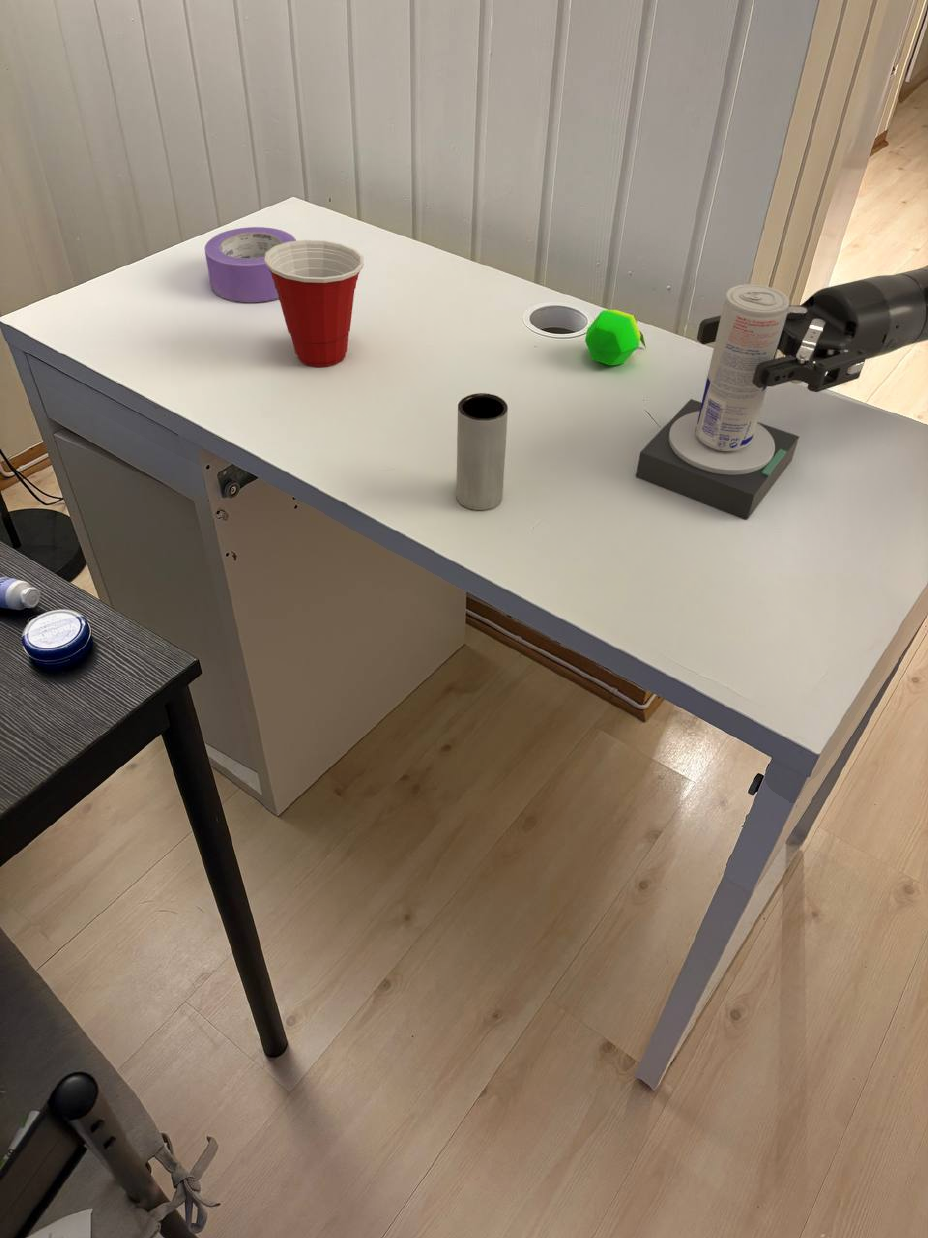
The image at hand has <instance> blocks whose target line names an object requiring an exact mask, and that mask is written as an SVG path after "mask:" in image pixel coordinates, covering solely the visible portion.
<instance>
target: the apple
mask: <svg viewBox="0 0 928 1238" xmlns="http://www.w3.org/2000/svg"><path fill="white" fill-rule="evenodd" d="M638 323H639V322H638V320H637V318H636V315H634V314H630V313H627V312H624V311H621V310H617V309H603V310H602V311H600V313H599V314H598V315H597V316H596V318H595V319H594V321H592V323H591V324H590V325H589V326H588V328H587V329H586V333H585V339H584V342H585V344H586V347H587V350H588V352H589V355H590V358H591V360H592V361H593V360H594V361H595V362H599V363H601V364H602V363H603V364H605V365H607V366H617V365H618V366H619V365H624V363H625V362H626V361H627V360H628V359H629V358H630V357H631V356H632V354H633V353H634V352H635V351H636V350H637V349H638V348H639V347H640V342H641V344H642V345H643V347H644V348H645V349H647V347H646V343H645V338H644V335H643V333H642V331H641V330H640V329H639V327H638Z"/></svg>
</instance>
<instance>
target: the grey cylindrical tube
mask: <svg viewBox="0 0 928 1238" xmlns="http://www.w3.org/2000/svg"><path fill="white" fill-rule="evenodd" d="M508 411H509V407H508V403H507V402H506V401H505V400H504V399H503V398H502V397H500V396H497V395H496V394H492V393H487V392H485V393H484V392H480V393H479V392H478V393H472V394H468V395H466V396H464V397H463V398H461V399H460V400H459V402H458V405H457V430H456V431H457V434H456V435H457V436H456V437H457V438H456V487H455V488H456V489H455V491H456V492H455V493H456V494H455V495H456V499H457V502H458V503H459V504H461V506H462V507H464V508H467V509H469V510H472V511H473V510H474V511H487V510H490V509H494V508H495V507H498V505H500V503H501V502H502V499H503V496H504V495H503V494H504V479H505V478H504V477H505V462H506V449H507V446H506V445H507V430H508V429H507V428H508V416H509V415H508Z"/></svg>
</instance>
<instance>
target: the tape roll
mask: <svg viewBox="0 0 928 1238" xmlns="http://www.w3.org/2000/svg"><path fill="white" fill-rule="evenodd" d="M291 241H297V240H296V238H295V237H294V236H293V235H292V234H290V233H289V232H287V231H284V230H282V229H278V228H274V227H273V228H272V227H262V226H252V227H251V226H249V227H241V228H234V229H230V230H227V231H223V232H220V233H219V234H216V235H214V236H212V237H211V238H210V239H209V240H208V241H207V242H206V243H205V245H204V257H205V261H206V266H207V267H206V268H207V272H208V279H209V284H210V288H211V290H212V292H213V293H214V294H215V295H216V296H218V297H220V298H222V299H225V300H228V301H233V302H238V303H263V302H269V301H274V300H277V299H278V300H279V296H278V293H277V289H276V288H275V284H274V280H273V279H272V275H271V272H270V270H269V268H268V267H267V266H266V264H265V253H266V252H267V251H269V250H270V249H271V248H272V247H274V246H277V245H280V244H283V243H286V242H291Z"/></svg>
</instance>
